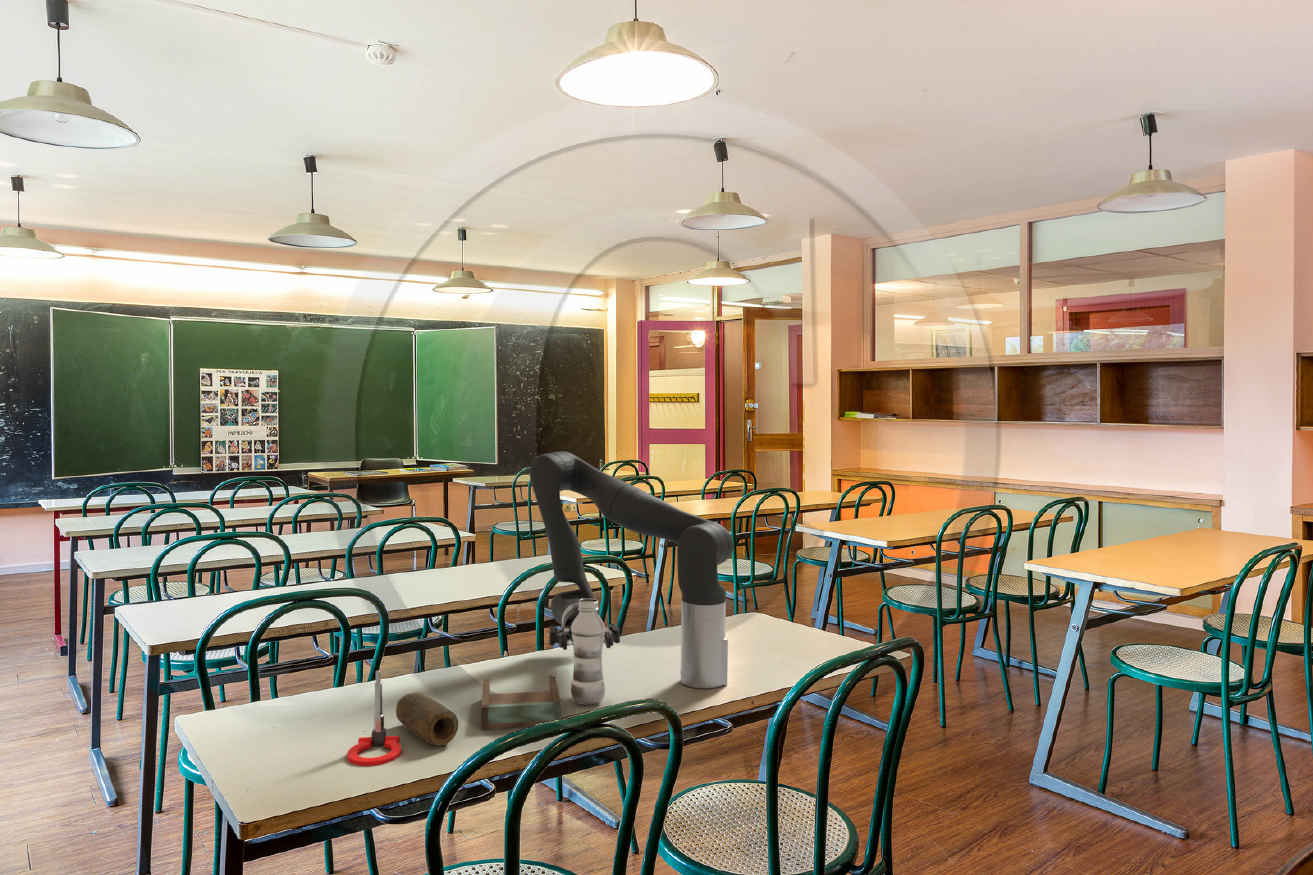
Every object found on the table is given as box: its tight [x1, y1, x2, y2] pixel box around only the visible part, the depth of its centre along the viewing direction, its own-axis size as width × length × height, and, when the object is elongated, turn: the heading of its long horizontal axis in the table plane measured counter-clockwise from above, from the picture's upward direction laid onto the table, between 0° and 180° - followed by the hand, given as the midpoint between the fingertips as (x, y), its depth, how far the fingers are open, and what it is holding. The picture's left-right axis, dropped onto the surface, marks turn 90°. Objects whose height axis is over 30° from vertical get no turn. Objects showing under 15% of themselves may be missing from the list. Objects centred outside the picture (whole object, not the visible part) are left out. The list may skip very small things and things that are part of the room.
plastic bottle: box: [570, 598, 606, 706], centre depth 166 cm, size 6×7×20 cm
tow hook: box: [346, 670, 402, 767], centre depth 141 cm, size 8×13×9 cm
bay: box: [480, 675, 562, 731], centre depth 161 cm, size 14×16×4 cm
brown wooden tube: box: [395, 692, 459, 747], centre depth 149 cm, size 15×7×7 cm, turn 42°
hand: (587, 644), depth 168 cm, fingers open, 8 cm apart
